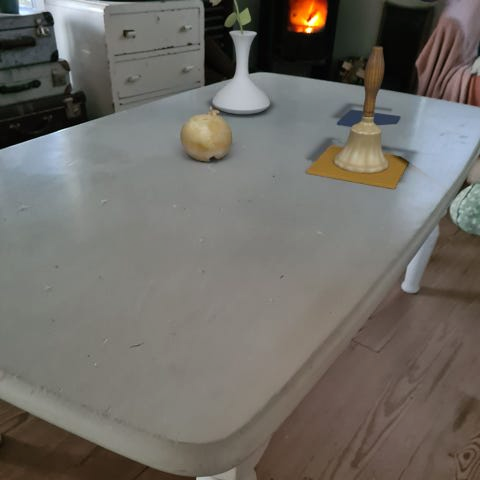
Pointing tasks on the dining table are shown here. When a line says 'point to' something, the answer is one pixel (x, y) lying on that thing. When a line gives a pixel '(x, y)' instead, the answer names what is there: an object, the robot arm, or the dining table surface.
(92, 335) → the dining table surface
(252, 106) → the flower in vase
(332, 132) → the dining table surface
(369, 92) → the hand bell
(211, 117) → the onion
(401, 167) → the ochre mat
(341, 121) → the blue mat
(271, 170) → the dining table surface
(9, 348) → the dining table surface
